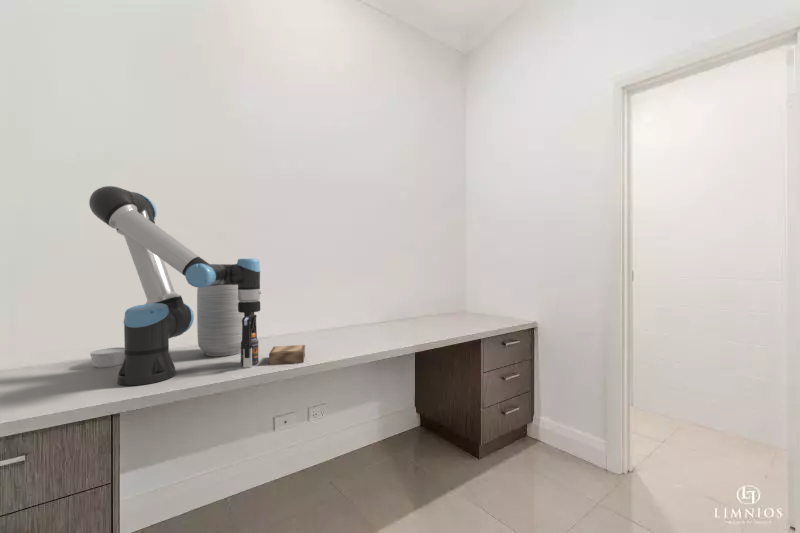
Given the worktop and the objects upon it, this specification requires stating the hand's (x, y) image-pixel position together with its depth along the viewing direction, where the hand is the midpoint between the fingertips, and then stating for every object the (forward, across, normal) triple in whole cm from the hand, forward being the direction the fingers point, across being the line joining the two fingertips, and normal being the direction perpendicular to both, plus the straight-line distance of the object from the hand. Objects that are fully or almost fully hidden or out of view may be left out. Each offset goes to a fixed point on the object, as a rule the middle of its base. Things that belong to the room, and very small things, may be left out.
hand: (250, 363), depth 133 cm
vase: (0, +23, +14) cm, 27 cm away
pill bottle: (+1, 0, 0) cm, 1 cm away
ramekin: (+1, +13, +51) cm, 53 cm away
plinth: (0, +4, -13) cm, 14 cm away
